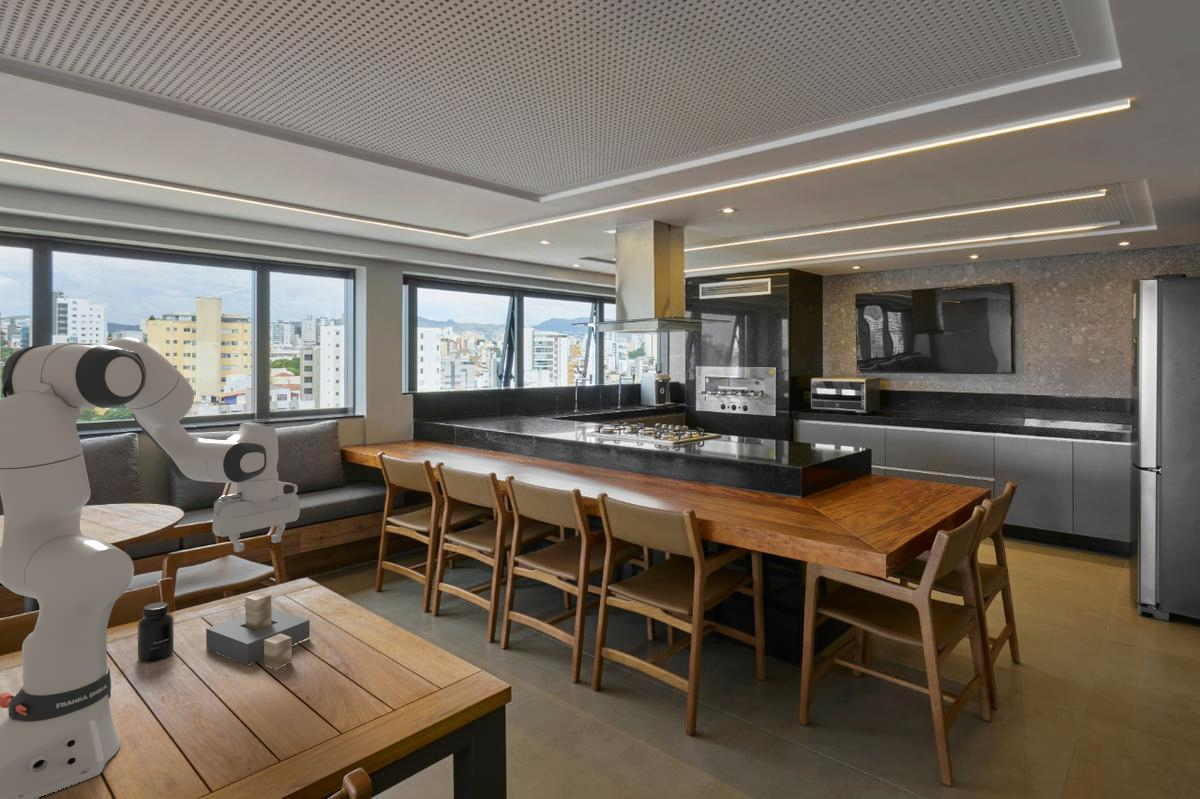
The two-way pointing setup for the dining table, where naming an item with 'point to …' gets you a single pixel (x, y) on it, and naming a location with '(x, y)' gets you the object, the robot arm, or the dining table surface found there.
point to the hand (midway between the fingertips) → (258, 546)
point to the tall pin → (258, 611)
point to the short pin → (277, 650)
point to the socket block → (254, 636)
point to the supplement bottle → (155, 633)
